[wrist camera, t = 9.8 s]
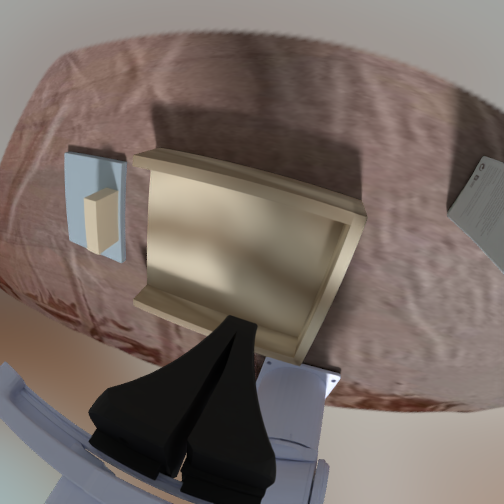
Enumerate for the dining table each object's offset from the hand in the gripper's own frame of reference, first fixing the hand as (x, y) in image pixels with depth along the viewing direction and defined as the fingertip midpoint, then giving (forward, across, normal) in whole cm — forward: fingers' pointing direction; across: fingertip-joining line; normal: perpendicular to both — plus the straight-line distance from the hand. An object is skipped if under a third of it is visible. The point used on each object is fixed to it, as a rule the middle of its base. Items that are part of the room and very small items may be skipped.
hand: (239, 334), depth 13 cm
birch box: (+10, +3, +2) cm, 11 cm away
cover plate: (+11, +18, +2) cm, 21 cm away
